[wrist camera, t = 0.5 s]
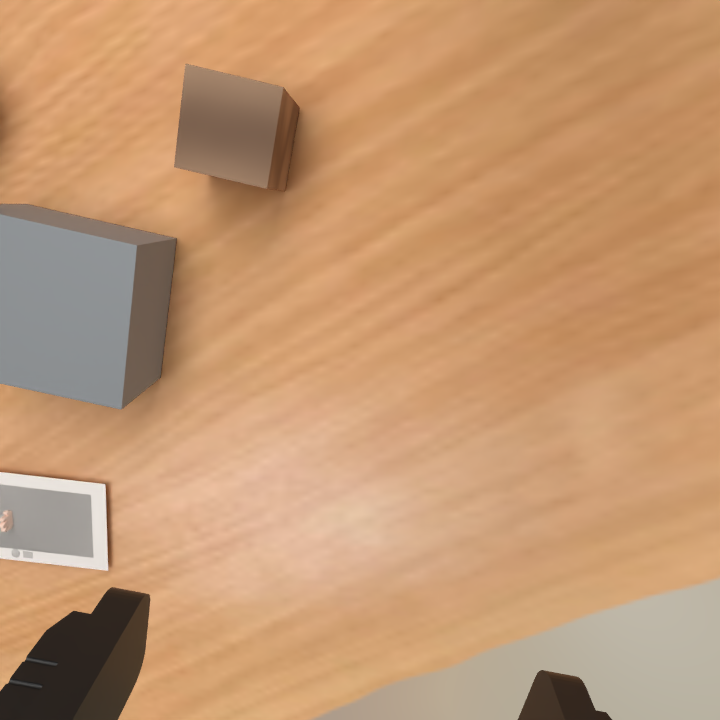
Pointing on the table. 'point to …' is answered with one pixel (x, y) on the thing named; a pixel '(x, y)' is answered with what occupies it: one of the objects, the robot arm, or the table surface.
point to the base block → (81, 305)
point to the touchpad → (53, 521)
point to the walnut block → (235, 128)
